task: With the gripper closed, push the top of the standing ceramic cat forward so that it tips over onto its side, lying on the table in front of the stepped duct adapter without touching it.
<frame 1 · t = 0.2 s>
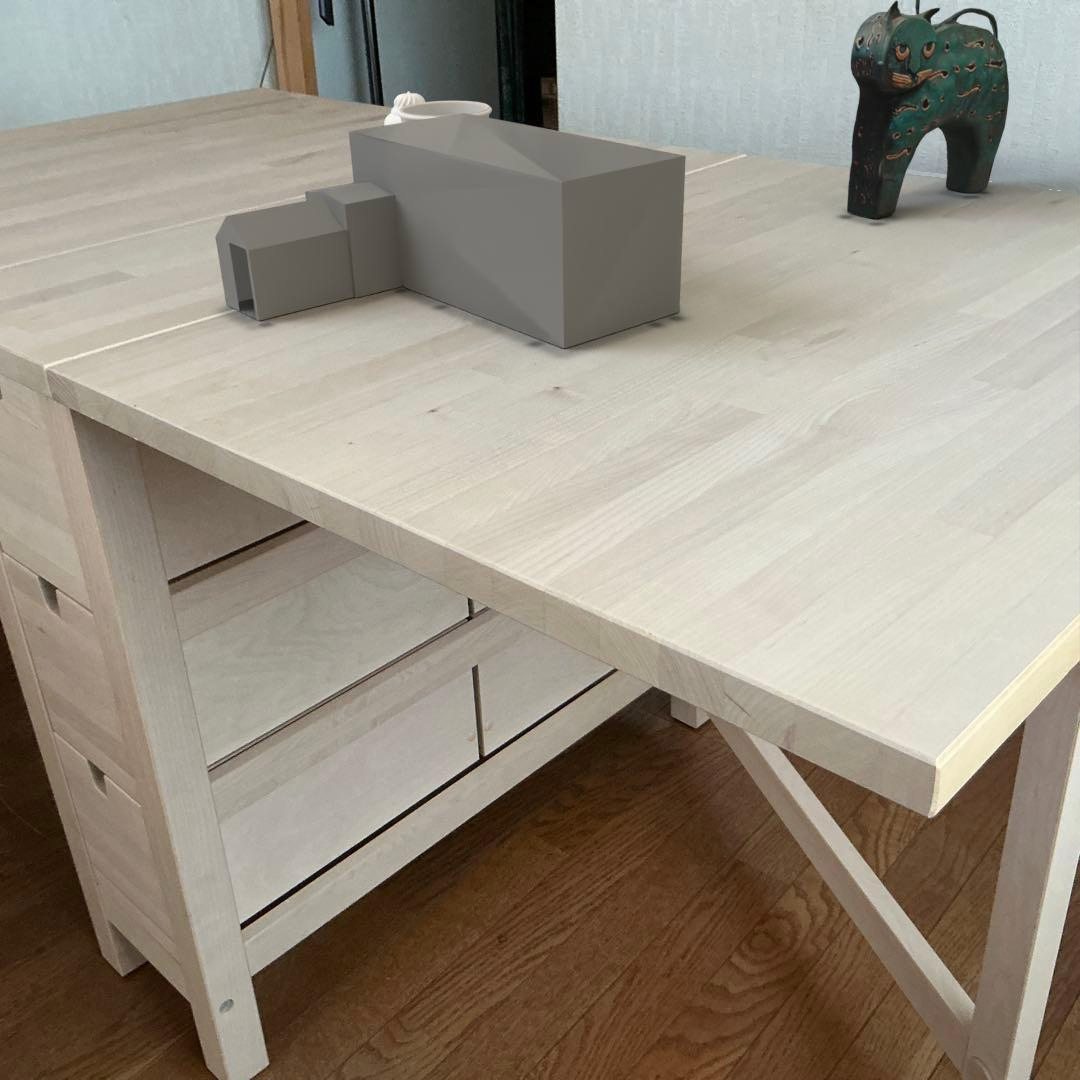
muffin: (413, 156, 135), on the table
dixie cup: (451, 223, 108), on the table
stepped duct adapter: (446, 310, 85), on the table
ceramic cat: (914, 203, 110), on the table
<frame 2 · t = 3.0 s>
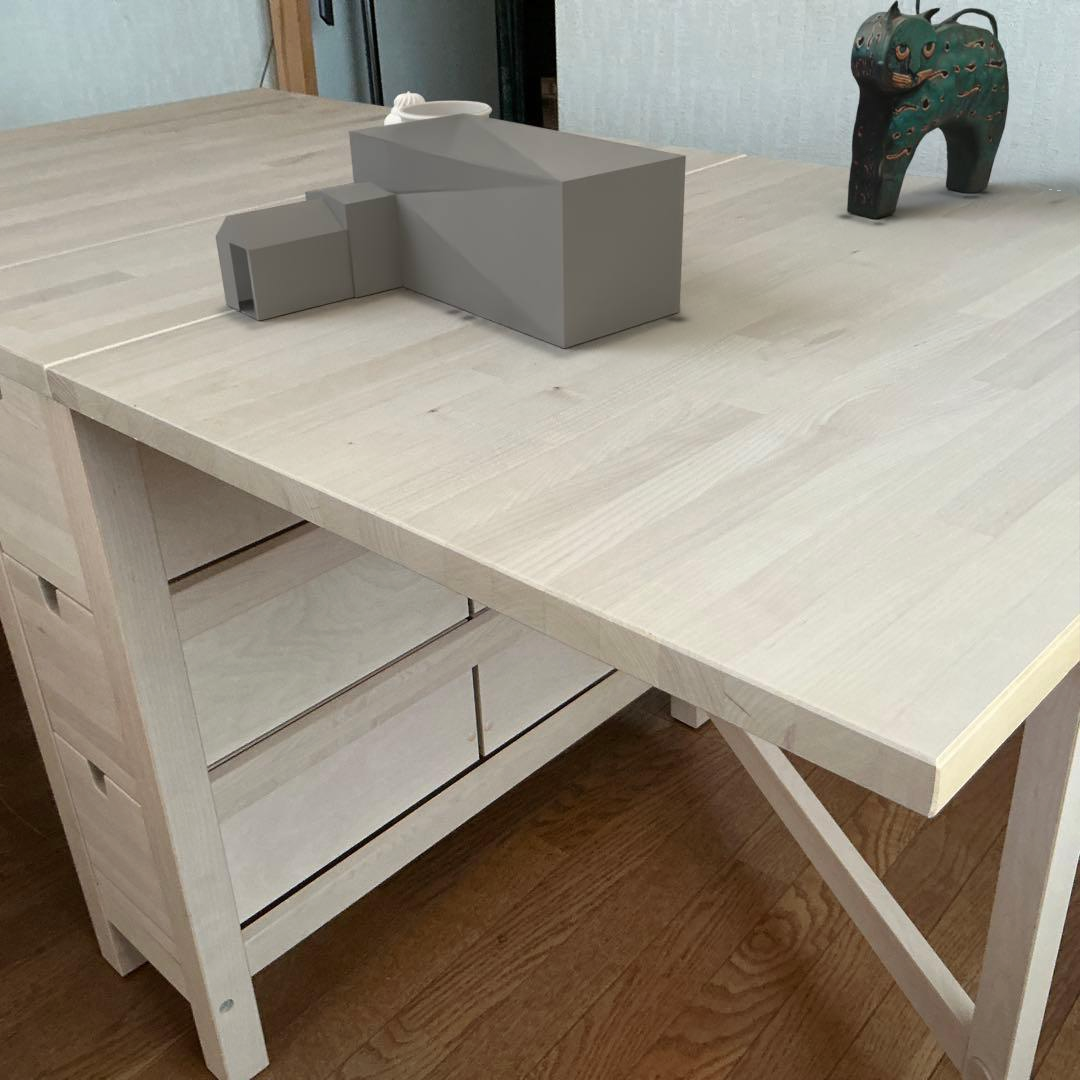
nothing on the table moved.
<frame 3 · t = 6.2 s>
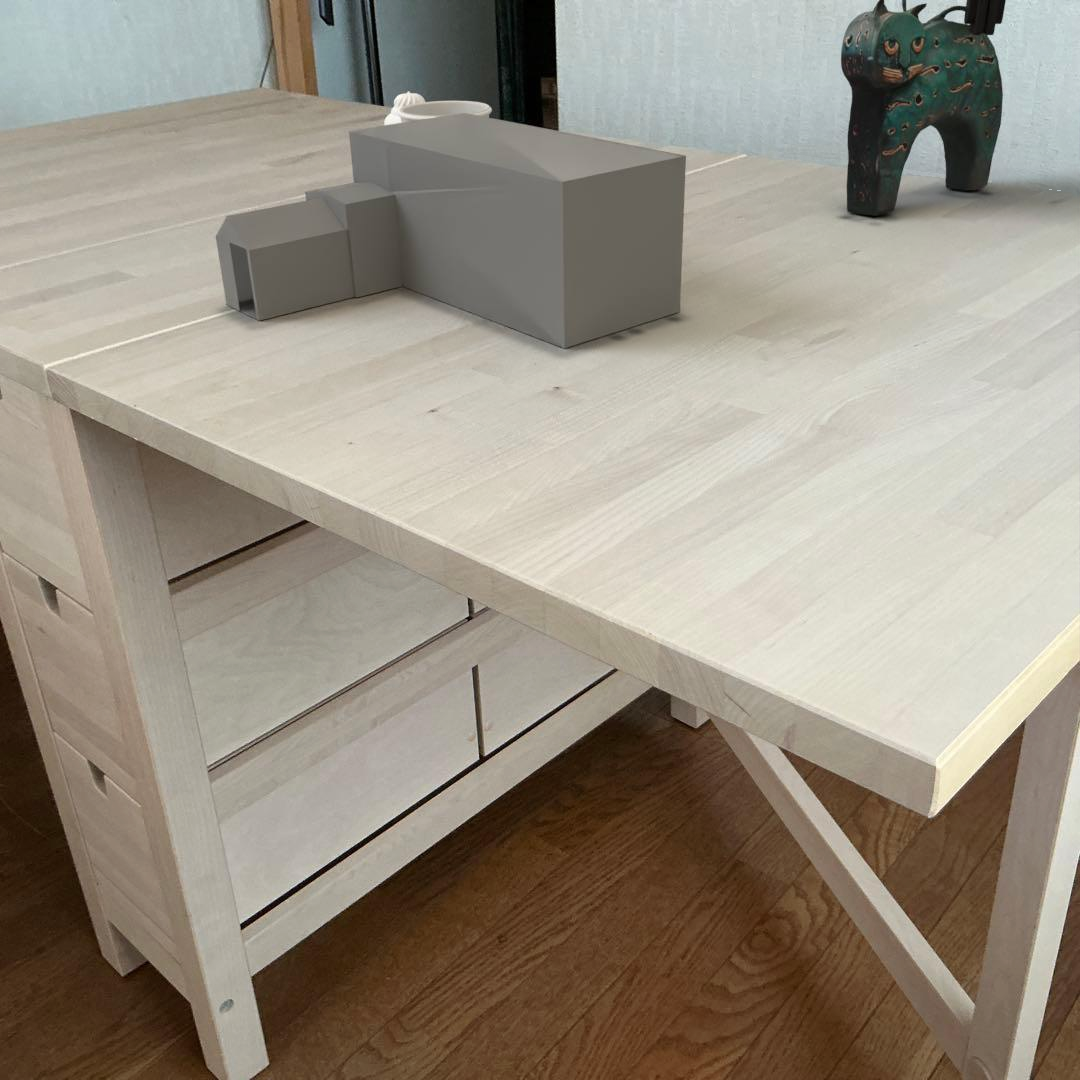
hand: (981, 32, 102), 15 cm above the table, tool pointing down, fingers closed
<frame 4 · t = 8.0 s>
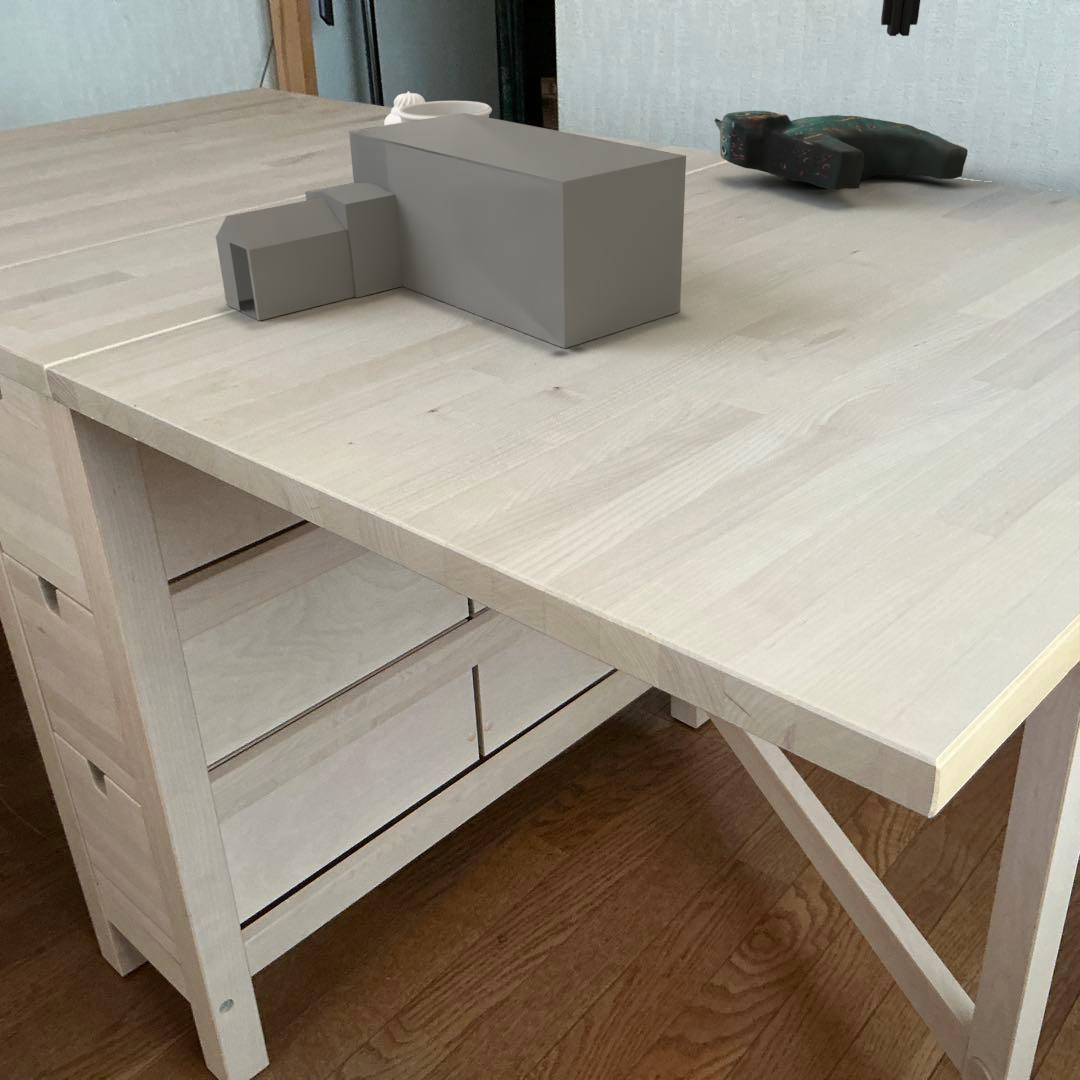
hand: (897, 33, 103), 15 cm above the table, tool pointing down, fingers closed
ceramic cat: (902, 171, 110), point 3 cm above the table
everything else where it was.
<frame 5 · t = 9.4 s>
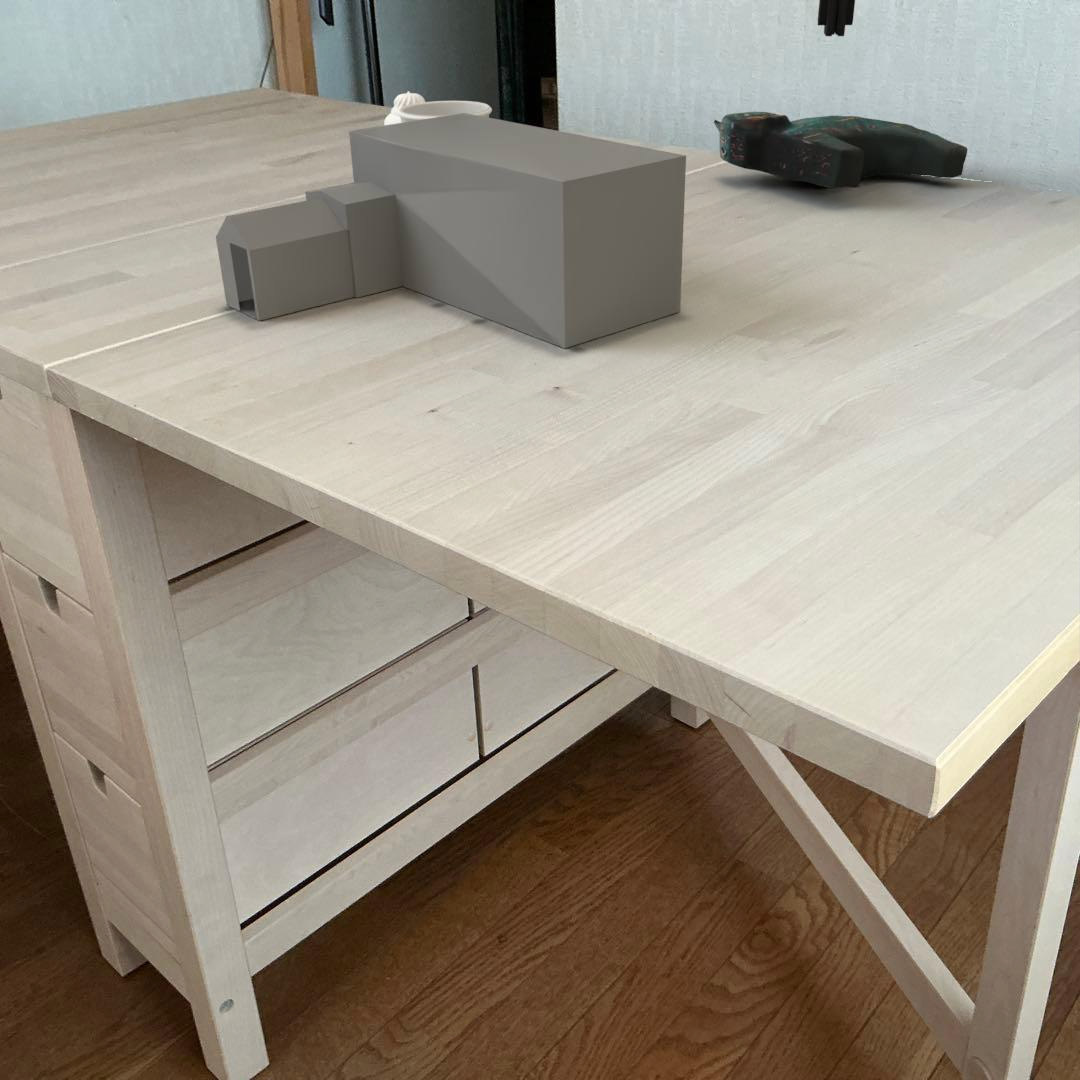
hand: (833, 34, 104), 15 cm above the table, tool pointing down, fingers closed
nothing on the table moved.
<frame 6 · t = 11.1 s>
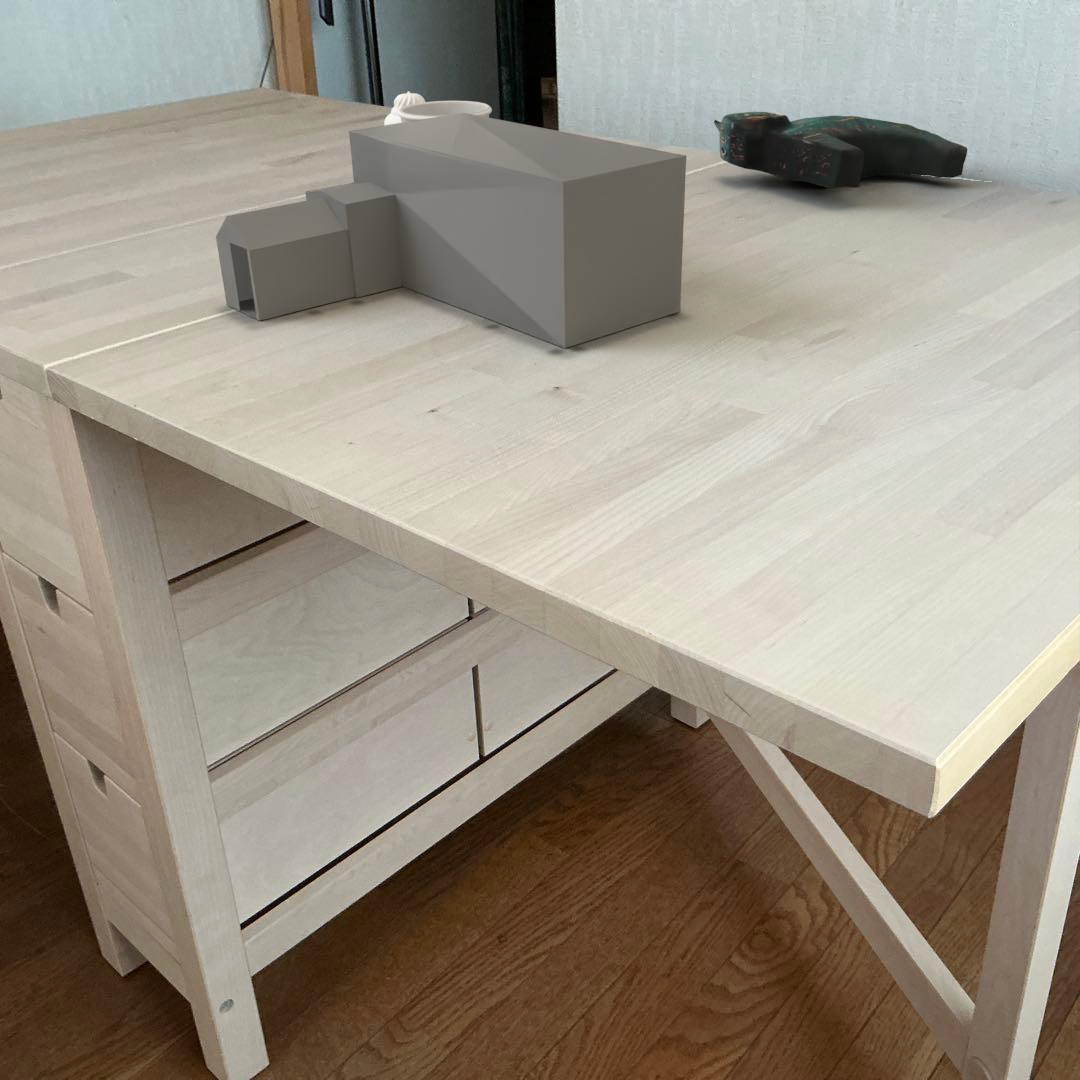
nothing on the table moved.
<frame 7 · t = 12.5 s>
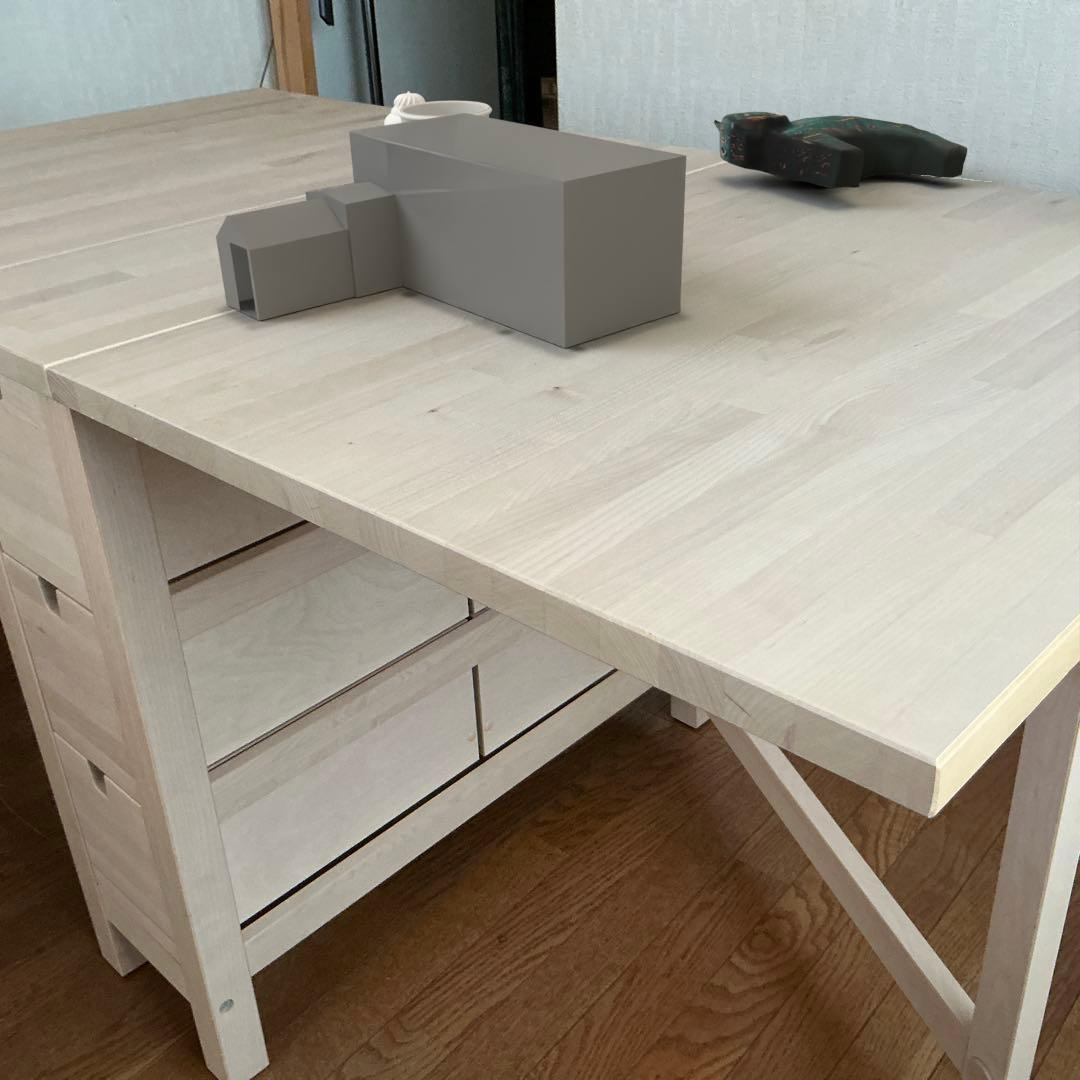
nothing on the table moved.
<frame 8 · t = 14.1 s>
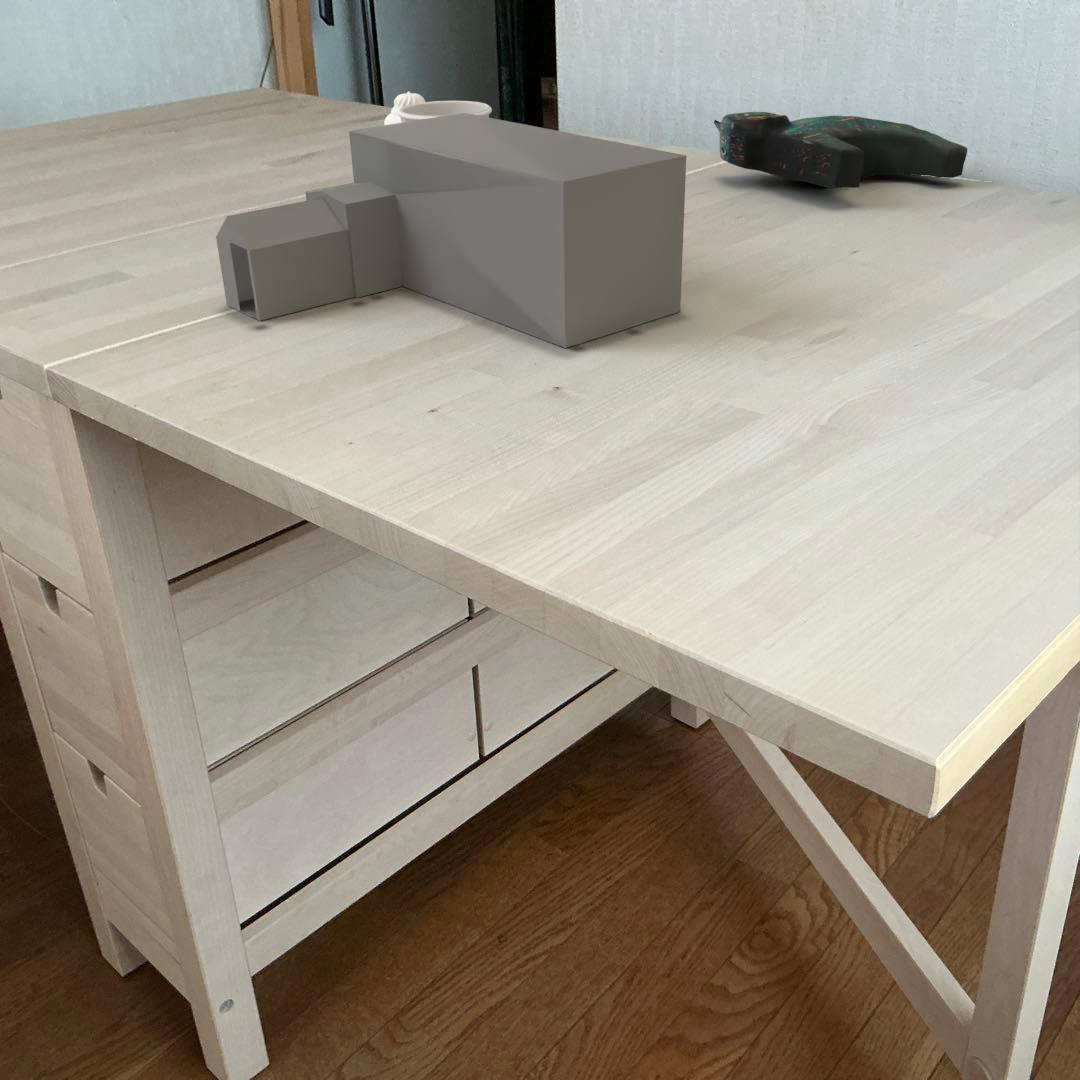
nothing on the table moved.
at the end: ceramic cat tilted 88°; ceramic cat inside the target area (12.1 cm from its centre), point 2.7 cm above the table; ceramic cat touching table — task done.
